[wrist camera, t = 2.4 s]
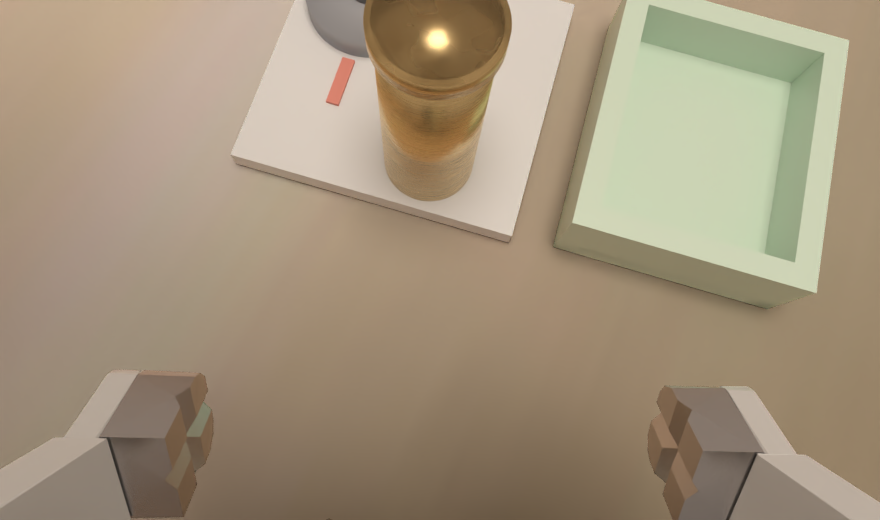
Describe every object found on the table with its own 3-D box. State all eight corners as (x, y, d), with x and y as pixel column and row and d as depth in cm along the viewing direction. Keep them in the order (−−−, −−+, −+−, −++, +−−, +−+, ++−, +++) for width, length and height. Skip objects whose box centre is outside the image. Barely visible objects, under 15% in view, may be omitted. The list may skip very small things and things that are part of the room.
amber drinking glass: (367, 189, 27) (343, 62, 18) (396, 104, 29) (388, -59, 19) (462, 217, 27) (490, 103, 18) (488, 130, 28) (527, -21, 19)
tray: (553, 247, 28) (572, 222, 25) (607, 28, 31) (631, -20, 28) (767, 309, 28) (816, 293, 25) (801, 82, 31) (849, 40, 28)
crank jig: (236, 163, 29) (179, 79, 22) (324, -51, 32) (300, -185, 25) (508, 242, 28) (540, 182, 21) (569, 17, 31) (615, -99, 24)
